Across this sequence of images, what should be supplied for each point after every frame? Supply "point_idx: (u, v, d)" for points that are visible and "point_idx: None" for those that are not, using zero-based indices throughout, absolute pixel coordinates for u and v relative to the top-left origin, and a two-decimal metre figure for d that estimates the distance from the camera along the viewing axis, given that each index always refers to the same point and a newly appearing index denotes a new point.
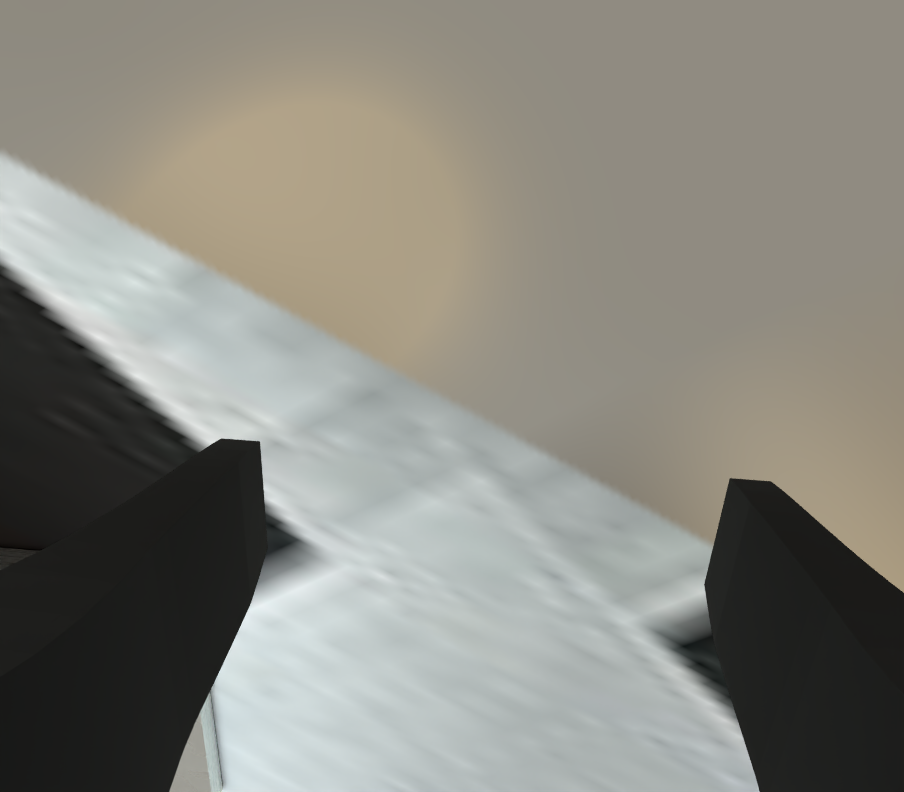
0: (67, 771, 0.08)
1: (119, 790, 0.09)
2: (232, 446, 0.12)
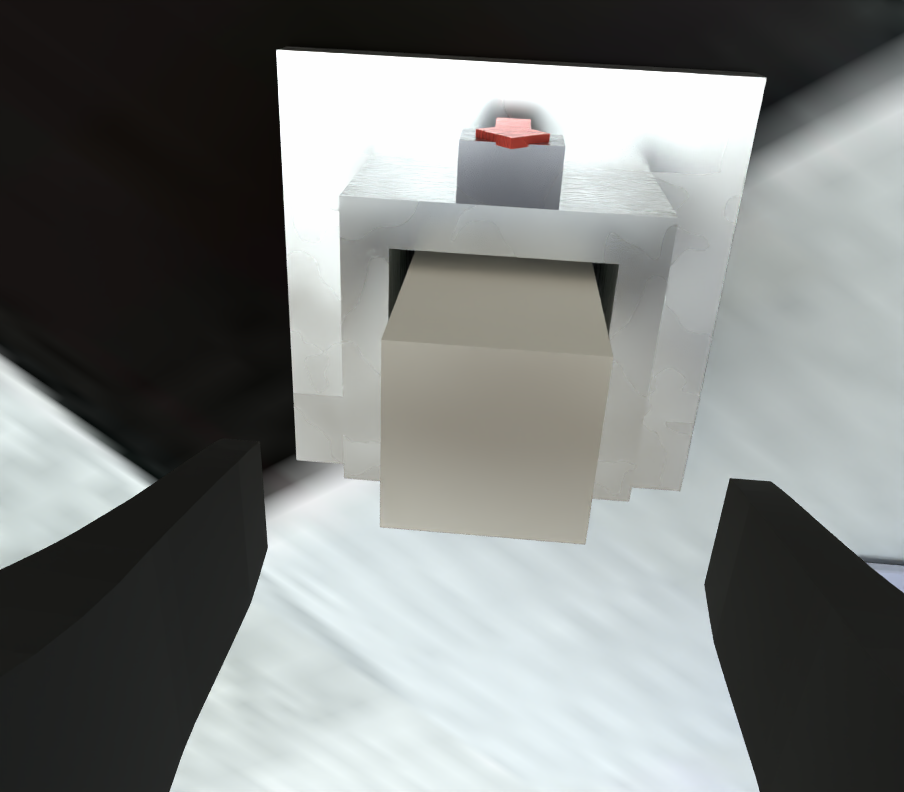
0: (67, 771, 0.08)
1: (119, 790, 0.09)
2: (232, 446, 0.12)
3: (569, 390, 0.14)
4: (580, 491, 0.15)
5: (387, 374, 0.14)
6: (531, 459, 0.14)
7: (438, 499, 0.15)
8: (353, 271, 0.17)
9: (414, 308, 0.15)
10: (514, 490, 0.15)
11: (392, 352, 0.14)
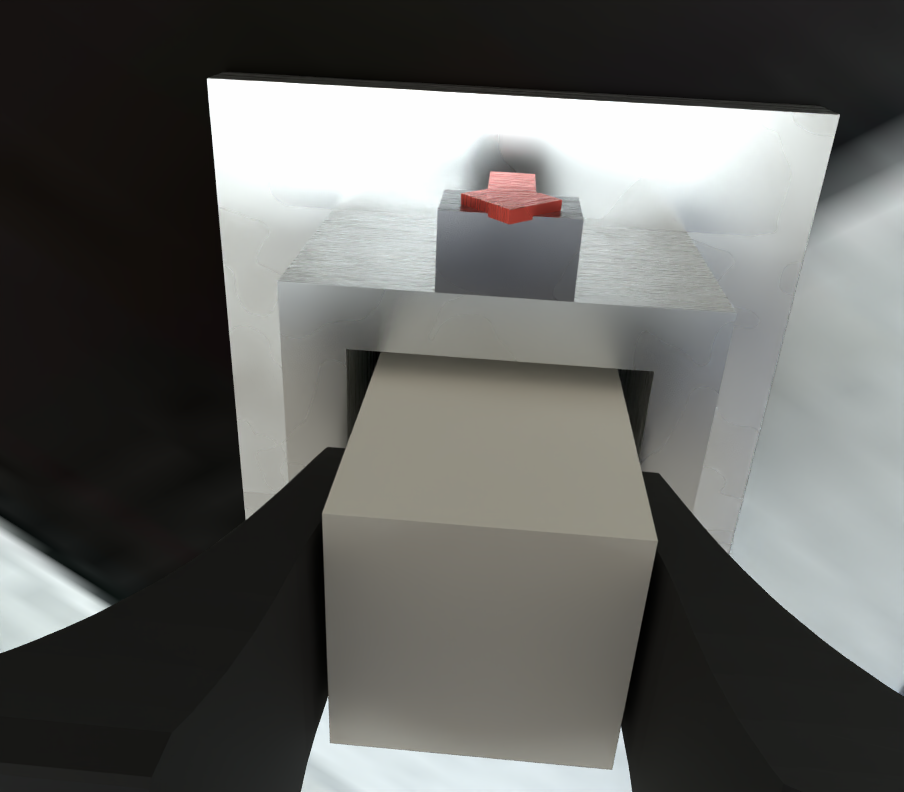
0: (241, 788, 0.08)
1: None
2: None
3: (594, 583, 0.10)
4: (606, 706, 0.11)
5: (332, 557, 0.10)
6: (538, 668, 0.10)
7: (409, 712, 0.11)
8: (299, 377, 0.13)
9: (374, 449, 0.11)
10: (513, 702, 0.11)
11: (338, 530, 0.10)
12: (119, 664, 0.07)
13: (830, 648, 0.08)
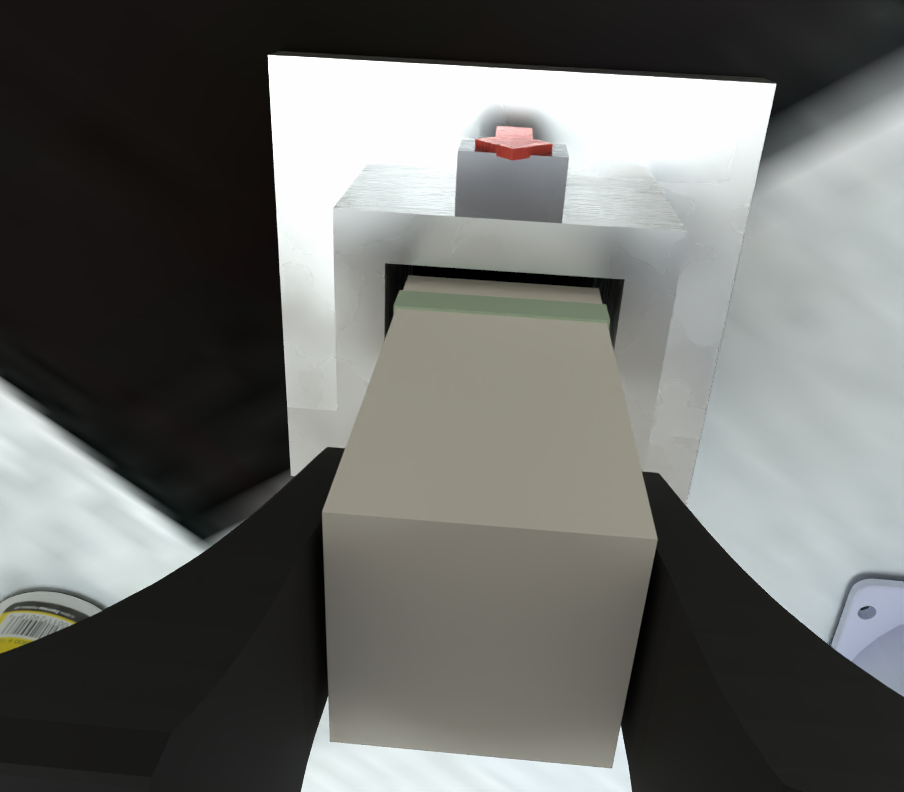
0: (241, 788, 0.08)
1: None
2: (342, 455, 0.12)
3: (593, 581, 0.10)
4: (606, 705, 0.11)
5: (332, 556, 0.10)
6: (537, 665, 0.10)
7: (409, 710, 0.11)
8: (347, 286, 0.16)
9: (373, 447, 0.11)
10: (513, 702, 0.11)
11: (338, 528, 0.10)
12: (119, 663, 0.07)
13: (830, 648, 0.08)
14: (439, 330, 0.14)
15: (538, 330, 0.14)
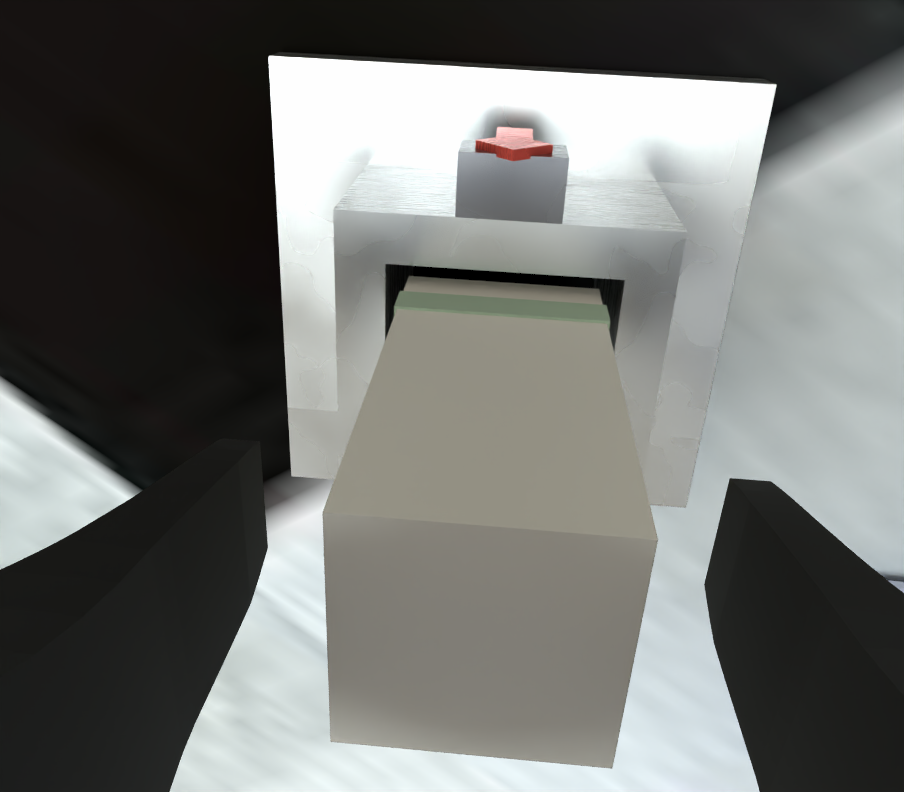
0: (67, 771, 0.08)
1: (119, 790, 0.09)
2: (232, 446, 0.12)
3: (594, 581, 0.10)
4: (606, 705, 0.11)
5: (333, 556, 0.10)
6: (538, 666, 0.10)
7: (409, 710, 0.11)
8: (348, 287, 0.16)
9: (374, 448, 0.11)
10: (513, 702, 0.11)
11: (339, 528, 0.10)
12: None
13: None
14: (439, 331, 0.14)
15: (538, 331, 0.14)
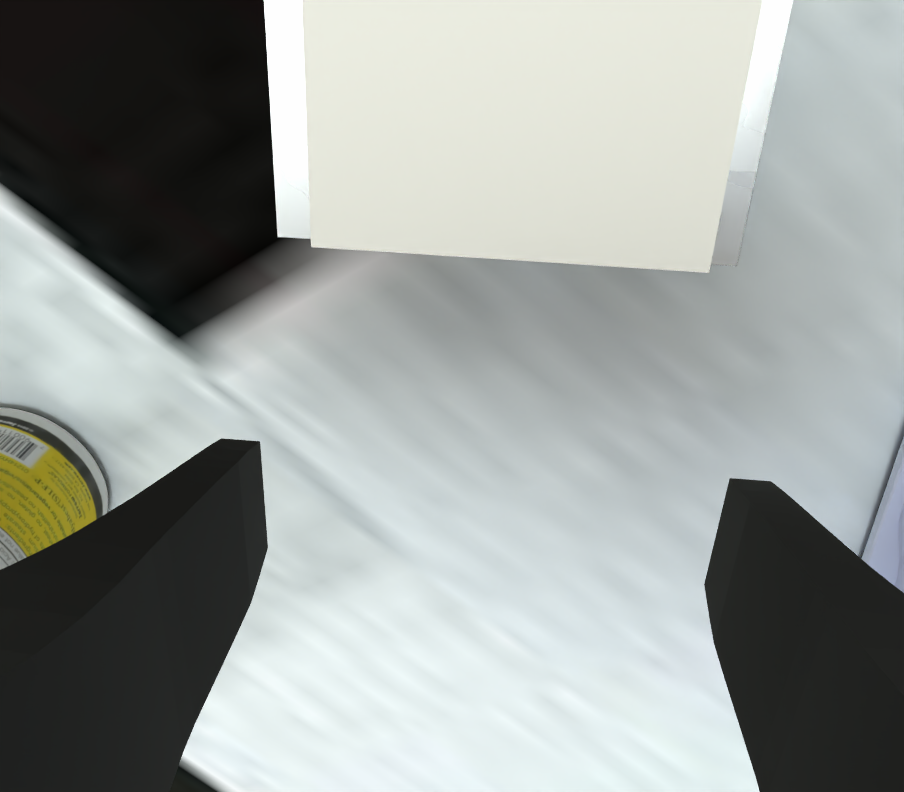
0: (67, 771, 0.08)
1: (119, 790, 0.09)
2: (232, 446, 0.12)
3: None
4: (707, 147, 0.07)
5: None
6: (610, 71, 0.07)
7: (422, 177, 0.08)
8: None
9: None
10: (573, 149, 0.07)
11: None
12: None
13: None
14: None
15: None
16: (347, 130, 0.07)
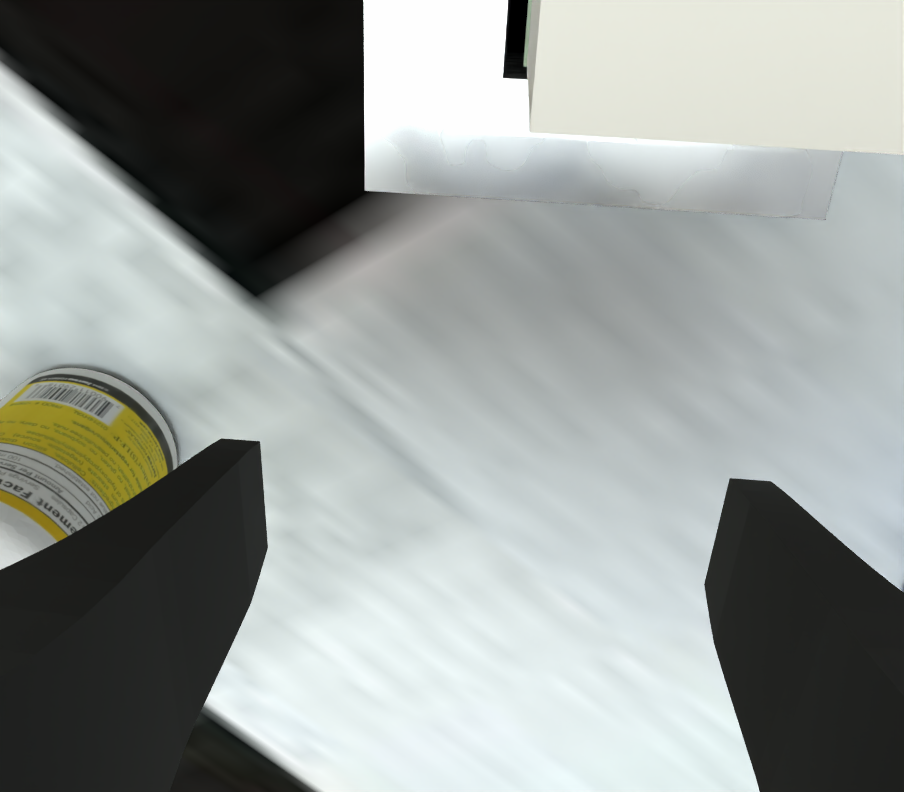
0: (67, 771, 0.08)
1: (119, 790, 0.09)
2: (232, 446, 0.12)
3: None
4: None
5: None
6: None
7: (651, 57, 0.08)
8: None
9: None
10: (808, 26, 0.07)
11: None
12: None
13: None
14: None
15: None
16: (581, 8, 0.07)
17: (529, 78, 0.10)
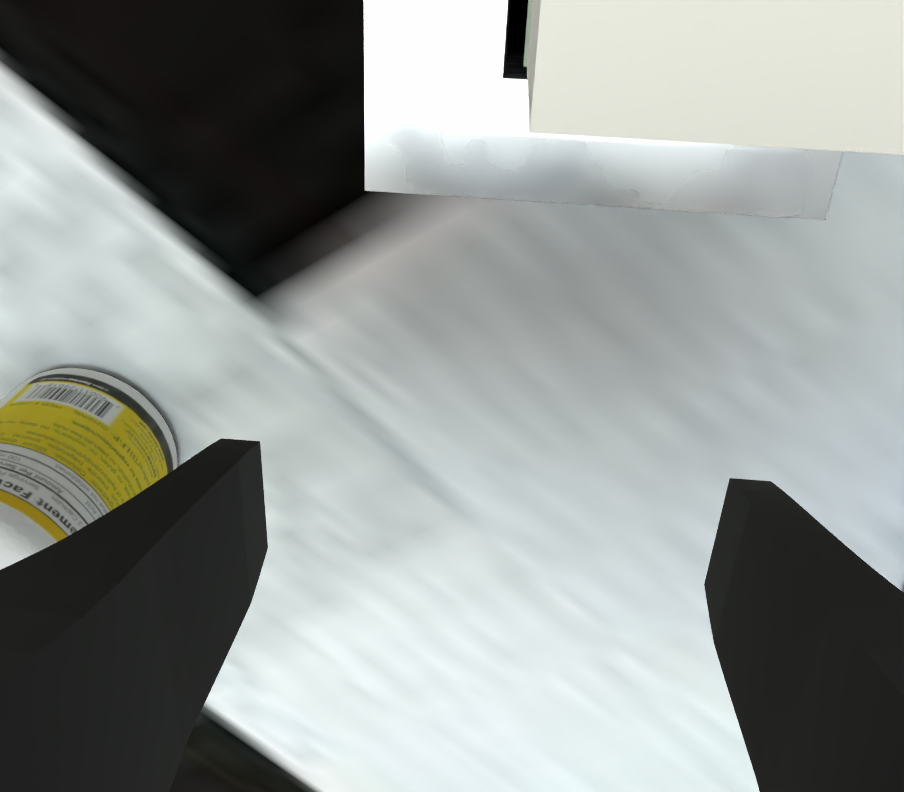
0: (67, 771, 0.08)
1: (119, 790, 0.09)
2: (232, 446, 0.12)
3: None
4: None
5: None
6: None
7: (651, 57, 0.08)
8: None
9: None
10: (808, 26, 0.07)
11: None
12: None
13: None
14: None
15: None
16: (581, 8, 0.07)
17: (529, 78, 0.10)
